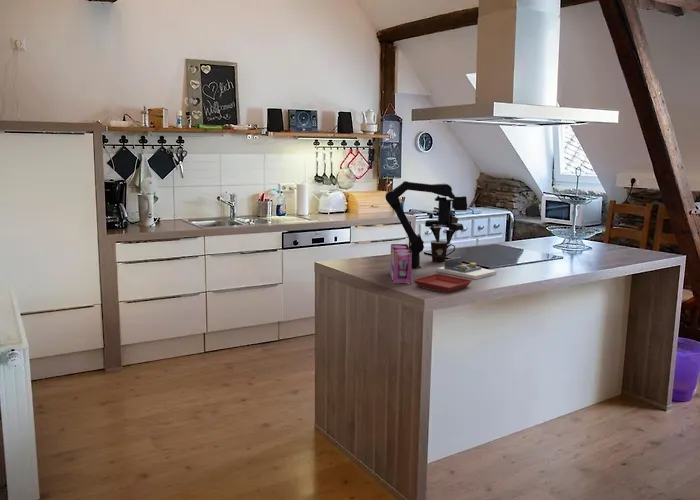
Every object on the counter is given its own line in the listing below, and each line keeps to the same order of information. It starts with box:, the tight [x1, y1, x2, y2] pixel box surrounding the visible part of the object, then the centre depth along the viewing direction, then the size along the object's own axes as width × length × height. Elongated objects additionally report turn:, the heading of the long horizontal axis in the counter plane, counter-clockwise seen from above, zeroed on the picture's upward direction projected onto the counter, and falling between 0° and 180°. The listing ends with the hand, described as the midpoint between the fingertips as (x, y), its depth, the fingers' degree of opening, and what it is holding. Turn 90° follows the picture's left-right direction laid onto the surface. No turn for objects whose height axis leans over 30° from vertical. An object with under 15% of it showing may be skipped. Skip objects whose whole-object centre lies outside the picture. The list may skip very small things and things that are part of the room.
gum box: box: [389, 243, 412, 284], centre depth 275 cm, size 24×8×14 cm, turn 0°
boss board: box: [436, 262, 497, 280], centre depth 289 cm, size 16×22×4 cm
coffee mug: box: [430, 239, 456, 264], centre depth 314 cm, size 12×9×10 cm
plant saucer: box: [413, 273, 473, 293], centre depth 262 cm, size 18×18×3 cm
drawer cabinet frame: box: [443, 256, 482, 273], centre depth 291 cm, size 12×12×4 cm
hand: (443, 243), depth 298 cm, fingers open, 6 cm apart
